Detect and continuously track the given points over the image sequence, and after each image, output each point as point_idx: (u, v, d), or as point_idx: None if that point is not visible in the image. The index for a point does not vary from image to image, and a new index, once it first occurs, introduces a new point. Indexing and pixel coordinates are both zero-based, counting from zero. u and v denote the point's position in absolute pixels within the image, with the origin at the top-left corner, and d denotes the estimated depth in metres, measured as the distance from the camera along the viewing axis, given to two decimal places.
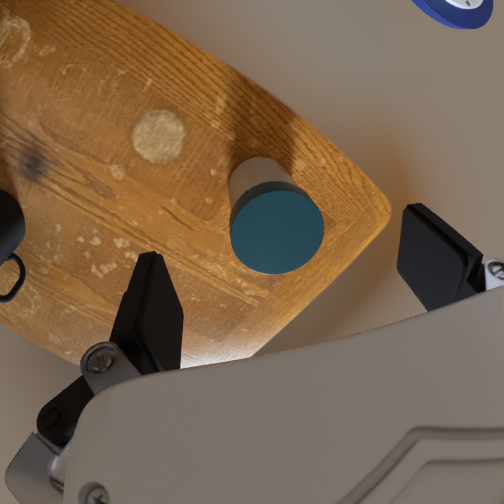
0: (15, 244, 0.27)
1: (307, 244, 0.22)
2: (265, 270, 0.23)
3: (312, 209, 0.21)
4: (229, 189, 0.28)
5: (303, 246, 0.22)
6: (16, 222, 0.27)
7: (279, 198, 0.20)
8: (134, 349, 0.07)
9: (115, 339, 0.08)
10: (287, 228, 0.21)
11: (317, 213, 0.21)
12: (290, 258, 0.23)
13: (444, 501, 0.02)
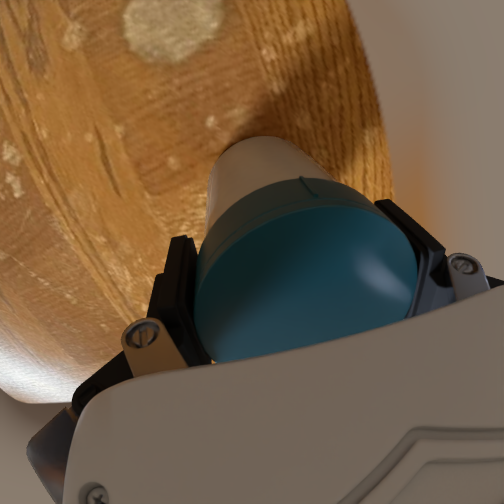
0: None
1: None
2: None
3: (405, 297, 0.09)
4: (224, 162, 0.14)
5: None
6: None
7: (381, 241, 0.07)
8: (175, 324, 0.08)
9: (152, 317, 0.08)
10: (341, 311, 0.08)
11: (404, 308, 0.09)
12: None
13: (444, 501, 0.02)
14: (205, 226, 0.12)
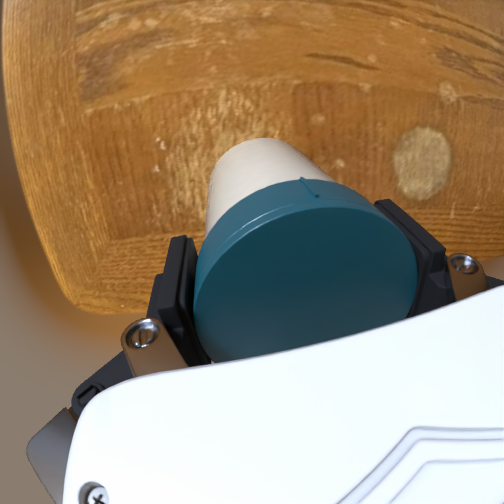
0: None
1: None
2: None
3: (405, 299, 0.09)
4: None
5: None
6: None
7: (382, 242, 0.07)
8: (175, 324, 0.08)
9: (152, 317, 0.08)
10: (342, 312, 0.08)
11: (405, 309, 0.09)
12: None
13: (444, 501, 0.02)
14: (323, 171, 0.11)
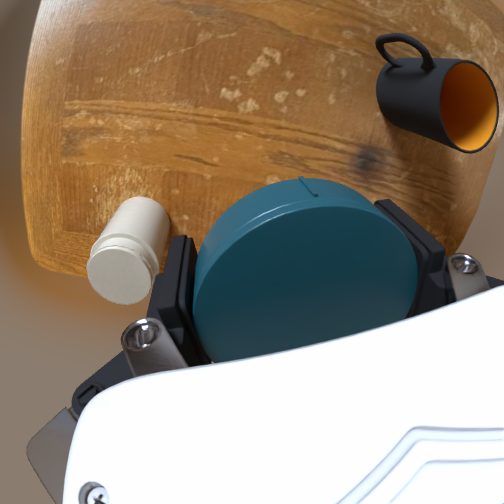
0: (388, 81, 0.23)
1: None
2: None
3: (405, 298, 0.09)
4: (165, 225, 0.29)
5: None
6: (386, 105, 0.25)
7: (381, 241, 0.07)
8: (175, 324, 0.08)
9: (152, 317, 0.08)
10: (341, 312, 0.08)
11: (405, 309, 0.09)
12: None
13: (444, 501, 0.02)
14: (147, 227, 0.25)
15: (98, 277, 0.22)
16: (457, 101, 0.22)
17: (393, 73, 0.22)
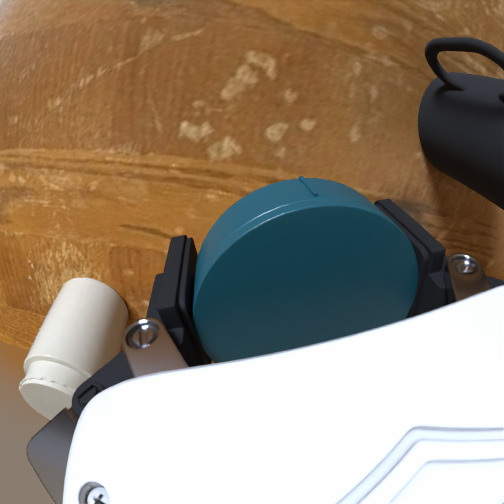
0: (441, 110, 0.14)
1: None
2: None
3: (406, 298, 0.08)
4: (117, 320, 0.20)
5: None
6: (434, 146, 0.16)
7: (381, 241, 0.07)
8: (175, 324, 0.08)
9: (152, 317, 0.08)
10: (342, 312, 0.08)
11: (405, 309, 0.09)
12: None
13: (444, 501, 0.02)
14: (87, 339, 0.16)
15: (36, 403, 0.14)
16: None
17: (449, 98, 0.14)
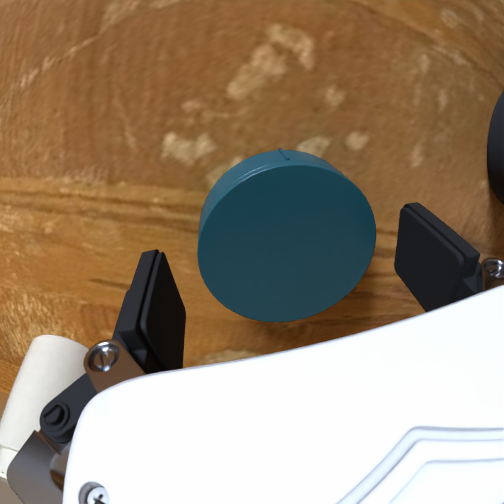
0: None
1: (321, 293, 0.12)
2: (228, 301, 0.12)
3: (367, 244, 0.11)
4: None
5: (312, 293, 0.12)
6: None
7: (340, 193, 0.10)
8: (137, 347, 0.07)
9: (118, 337, 0.08)
10: (313, 251, 0.11)
11: (368, 254, 0.11)
12: (280, 302, 0.12)
13: (444, 501, 0.02)
14: None
15: None
16: None
17: None
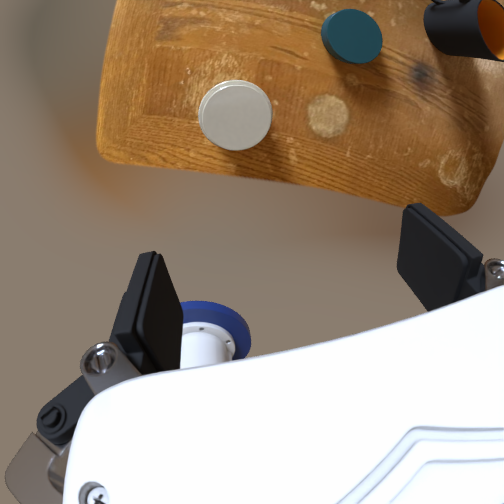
0: (434, 13, 0.22)
1: (366, 53, 0.26)
2: (336, 48, 0.26)
3: (379, 38, 0.25)
4: None
5: (364, 52, 0.26)
6: (434, 31, 0.24)
7: (368, 19, 0.24)
8: (134, 349, 0.07)
9: (115, 339, 0.08)
10: (362, 36, 0.25)
11: (380, 42, 0.25)
12: (353, 53, 0.26)
13: (444, 501, 0.02)
14: None
15: (214, 117, 0.22)
16: (484, 34, 0.21)
17: (437, 8, 0.21)
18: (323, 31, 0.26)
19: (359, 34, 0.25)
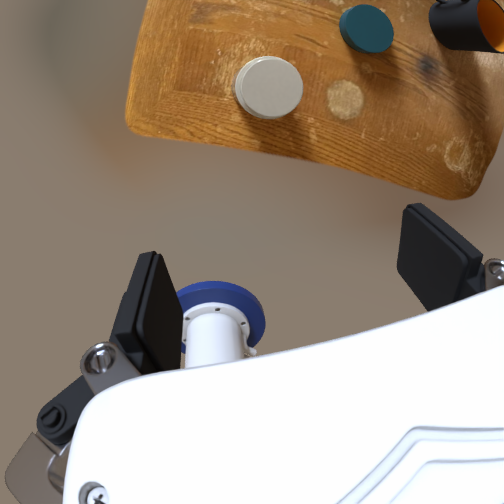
0: (438, 11, 0.24)
1: (380, 43, 0.28)
2: (353, 38, 0.27)
3: (391, 31, 0.27)
4: None
5: (377, 43, 0.28)
6: (438, 27, 0.26)
7: (381, 14, 0.26)
8: (134, 349, 0.07)
9: (115, 339, 0.08)
10: (376, 28, 0.27)
11: (392, 34, 0.27)
12: (368, 43, 0.28)
13: (444, 501, 0.02)
14: None
15: (252, 85, 0.24)
16: (483, 31, 0.23)
17: (441, 6, 0.23)
18: (341, 23, 0.27)
19: (373, 27, 0.27)
